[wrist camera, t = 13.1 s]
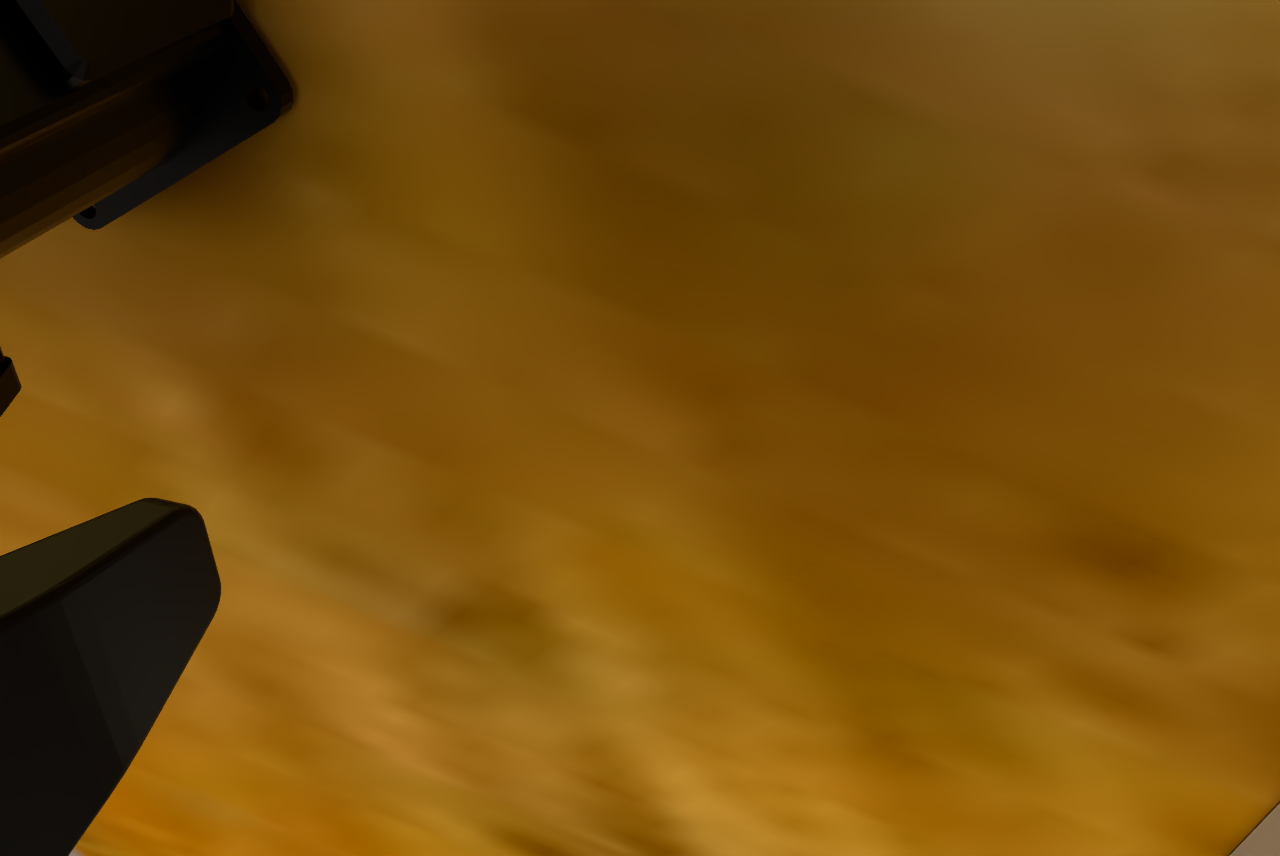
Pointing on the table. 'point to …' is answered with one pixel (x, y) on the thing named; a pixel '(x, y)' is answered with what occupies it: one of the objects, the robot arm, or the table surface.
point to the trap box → (1263, 838)
